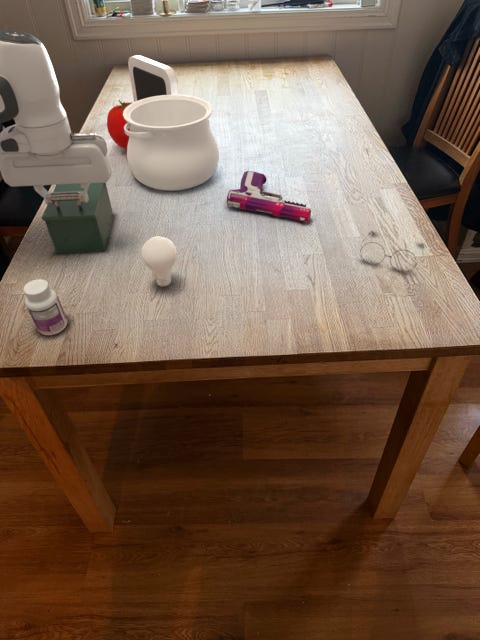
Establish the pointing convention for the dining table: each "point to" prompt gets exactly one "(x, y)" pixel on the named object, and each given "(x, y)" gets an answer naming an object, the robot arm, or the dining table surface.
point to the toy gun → (264, 199)
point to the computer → (151, 78)
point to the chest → (83, 230)
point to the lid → (73, 202)
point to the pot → (171, 141)
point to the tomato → (118, 125)
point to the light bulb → (160, 258)
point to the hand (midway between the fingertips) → (67, 202)
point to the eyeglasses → (386, 255)
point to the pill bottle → (44, 307)
